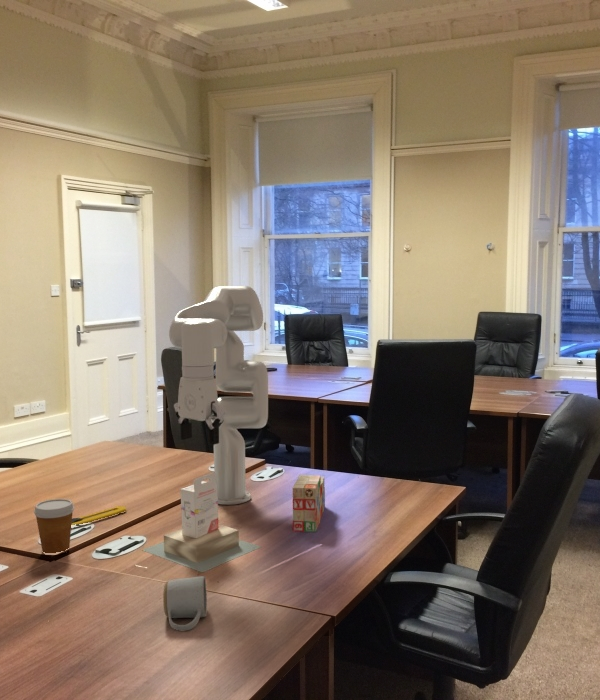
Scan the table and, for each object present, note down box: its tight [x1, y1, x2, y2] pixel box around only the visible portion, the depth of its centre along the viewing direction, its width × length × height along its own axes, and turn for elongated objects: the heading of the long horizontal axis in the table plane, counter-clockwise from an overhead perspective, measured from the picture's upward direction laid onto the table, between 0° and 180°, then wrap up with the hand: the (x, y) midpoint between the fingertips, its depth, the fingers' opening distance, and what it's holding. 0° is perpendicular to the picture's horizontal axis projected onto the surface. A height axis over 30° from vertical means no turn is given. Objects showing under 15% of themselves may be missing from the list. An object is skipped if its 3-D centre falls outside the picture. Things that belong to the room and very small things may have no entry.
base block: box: [163, 523, 240, 563], centre depth 175 cm, size 12×14×4 cm
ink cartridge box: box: [180, 471, 219, 538], centre depth 175 cm, size 9×5×15 cm, turn 145°
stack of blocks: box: [292, 474, 326, 533], centre depth 198 cm, size 21×6×12 cm, turn 171°
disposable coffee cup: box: [33, 498, 75, 553], centre depth 175 cm, size 10×10×12 cm
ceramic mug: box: [162, 575, 208, 631], centre depth 139 cm, size 11×8×8 cm
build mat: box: [141, 539, 262, 573], centre depth 176 cm, size 22×20×1 cm
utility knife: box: [71, 505, 127, 525], centre depth 199 cm, size 7×22×2 cm, turn 140°
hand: (199, 441), depth 173 cm, fingers open, 9 cm apart
